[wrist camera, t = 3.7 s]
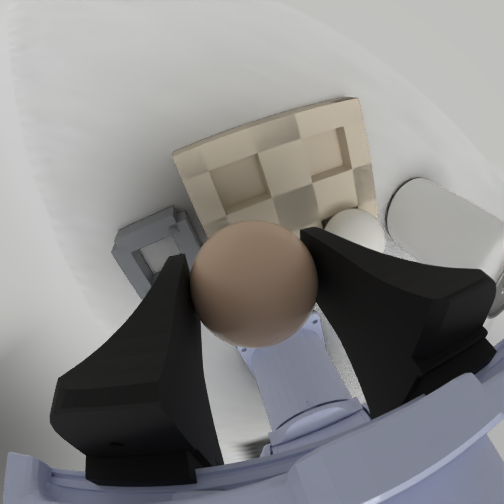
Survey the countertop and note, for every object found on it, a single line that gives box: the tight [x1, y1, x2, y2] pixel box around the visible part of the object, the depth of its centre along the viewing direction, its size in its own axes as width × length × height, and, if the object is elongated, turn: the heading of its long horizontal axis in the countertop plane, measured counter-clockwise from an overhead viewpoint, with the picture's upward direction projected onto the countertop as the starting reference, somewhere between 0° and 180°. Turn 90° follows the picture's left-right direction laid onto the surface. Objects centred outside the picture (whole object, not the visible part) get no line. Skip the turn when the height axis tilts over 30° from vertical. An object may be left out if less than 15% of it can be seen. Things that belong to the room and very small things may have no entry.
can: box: [387, 178, 504, 319], centre depth 18 cm, size 6×6×12 cm
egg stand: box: [111, 206, 202, 299], centre depth 19 cm, size 5×5×2 cm
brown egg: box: [189, 220, 318, 349], centre depth 10 cm, size 4×4×4 cm
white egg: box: [324, 209, 386, 254], centre depth 19 cm, size 4×4×4 cm
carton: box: [172, 97, 378, 239], centre depth 19 cm, size 12×12×2 cm
